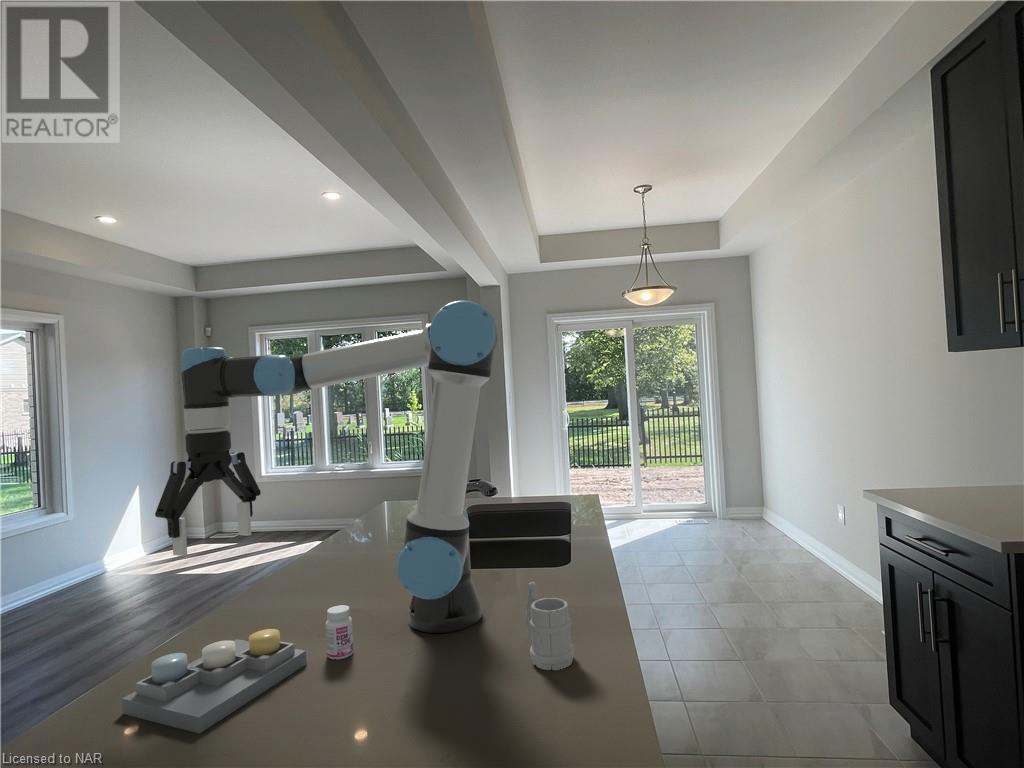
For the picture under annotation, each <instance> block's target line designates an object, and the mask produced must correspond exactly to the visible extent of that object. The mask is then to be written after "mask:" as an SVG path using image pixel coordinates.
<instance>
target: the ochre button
mask: <svg viewBox="0 0 1024 768" xmlns="http://www.w3.org/2000/svg"><path fill="white" fill-rule="evenodd" d="M280 634H281V633H280V629H276V628H265V629H262V630H258V631H256V632H253V633H252V634H250V635H249V636H248V641H249V653H250V654H252V655H264V654H269V653H271V652H274V651H276V650H277V649H279V647H280V642H281V635H280Z"/></svg>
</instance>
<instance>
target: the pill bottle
mask: <svg viewBox="0 0 1024 768" xmlns="http://www.w3.org/2000/svg"><path fill="white" fill-rule="evenodd" d="M350 609H351V608H350V606H349V605H346V604H345V605H344V604H342V605H341V604H340V605H335V606H332V607H329V608H328V609H327V611H326V614H327V615H326V618H327V620H326V622H325V637H326V638H325V640H326V641H325V642H326V656H327V658H328V659H331V660H335V659H336V660H337V661H338V660H343V659H346V658H348V657H350V656H352V655H353V653H354V635H353V633H354V631H353V619H352V617H351V616H350V615H351V611H350ZM336 660H335V661H336Z"/></svg>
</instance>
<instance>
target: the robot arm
mask: <svg viewBox="0 0 1024 768" xmlns="http://www.w3.org/2000/svg"><path fill="white" fill-rule="evenodd" d="M496 325H497V324H496V322H495V320H494V317H493V316H492V314H491V313H490V311H488V309H486V308H485V307H484V306H483V305H481V304H479V303H476V302H474V301H470V300H457V301H452V302H450V303H447V304H446V305H444V306H442V307H441V308H440V309H439V310H438V311H437V312H436V313H435V315H434V316H433V318H432V321H431V323H426V325H425V326H424V328H423V329H421V330H417V331H411V332H406V333H402V334H397V335H393V336H386V337H381V338H378V339H376V338H375V339H372V340H367V341H363V342H357V343H353V344H347V345H344V346H338V347H333V348H328V349H324V350H319V351H318V350H317V351H312V352H309V353H304V354H299V355H293V356H287V355H283V354H265V355H253V356H239V357H238V356H237V357H233V356H231V357H230V356H228V355H227V352H226V350H225V348H223V347H215V346H214V347H212V346H211V347H210V346H207V347H189V348H186V349H184V350H183V351H182V353H181V370H180V375H181V382H182V395H183V416H184V420H183V421H184V429H185V431H188V433H186V435H185V437H184V439H185V452H186V454H187V456H188V457H187V461H181V460H180V461H179V460H178V461H177V460H175V461H172V462H170V468H169V469H170V470H169V477H168V480H167V482H166V484H165V486H164V489H163V492H162V494H161V497H160V500H159V502H158V505H157V508H156V511H155V513H154V516H155V517H156V518H161V519H166V522H167V536H168V537H169V538H170V539H172V540H171V541H172V555H173V556H180V557H186V556H188V544H187V543H188V542H187V527H186V525H187V524H186V517H182V515H183V514H184V512H185V511H186V509H187V508H188V506H189V504H190V502H191V501H192V499H193V497H195V495H196V493H197V491H198V489H199V487H201V486H202V485H203V484H204V483H210V482H213V481H220V480H221V481H223V483H224V484H225V485H227V487H228V488H229V490H231V491H232V493H234V494H235V496H237V498H239V500H240V501H237V502H236V512H237V514H236V515H237V516H236V517H237V532H238V533H237V534H238V536H246V537H249V536H252V525H251V524H252V523H251V522H252V521H251V517H253V510H254V509H253V502H255V501H256V500H257V497H258V496H260V495H261V493H262V492H261V489H260V487H259V486H258V484H257V481H256V480H255V478H254V476H253V474H252V471H251V469H250V468H249V466H248V464H247V461H246V456H245V452H243V451H242V452H241V451H233V452H231V453H230V450H231V449H232V438H231V435H232V434H231V431H230V430H228V428H230V426H231V419H230V418H231V417H230V415H231V414H230V402H229V398H232V399H233V398H244V397H247V398H249V397H273V396H274V397H275V396H276V397H277V396H281V395H283V396H291V395H292V396H293V395H298V394H299V393H301V392H307V391H310V390H315V389H320V388H326V387H330V386H334V385H335V386H336V385H340V384H344V383H349V382H354V381H361V380H363V379H365V380H366V379H369V378H374V377H378V376H379V377H380V376H383V375H388V374H389V375H390V374H395V373H398V372H404V371H409V370H414V369H418V368H424V367H428V368H427V371H428V373H429V374H430V375H431V377H432V378H433V380H434V381H433V382H434V383H433V390H432V398H431V406H430V412H429V419H428V424H427V425H428V426H427V427H428V428H427V434H426V441H425V447H424V455H423V461H422V468H421V475H420V481H419V482H420V484H419V490H418V497H417V502H416V503H417V504H416V505H417V506H416V508H415V509H414V510H412V511H411V512H410V513H408V514H407V517H406V524H405V529H404V531H405V532H404V536H403V537H404V538H403V544H402V548H401V550H400V552H399V554H398V555H397V559H396V573H397V577H398V580H399V582H400V584H401V585H402V586H403V588H404V589H405V590H406V591H407V592H408V593H409V594H410V595H412V597H411V601H410V604H409V608H408V623H409V625H410V627H411V628H412V629H414V630H416V631H419V632H424V633H430V634H431V633H433V634H435V633H436V634H437V633H438V634H439V633H443V634H444V633H450V632H451V633H452V632H457V631H460V630H464V629H467V628H469V627H471V626H473V625H475V624H476V623H478V622H479V621H480V619H481V618H482V605H481V600H480V599H479V595H478V593H477V591H476V587H475V584H474V583H473V580H472V579H473V578H472V570H471V569H472V568H471V553H470V552H471V550H470V549H471V548H470V535H469V534H470V533H469V529H470V520H469V516H468V511H467V510H466V508H464V507H465V498H466V493H467V484H468V478H469V472H470V471H469V470H470V463H471V458H472V457H471V456H472V450H473V449H472V448H473V442H474V436H475V428H476V420H477V415H478V408H479V399H480V394H481V387H482V386H484V385H485V384H486V383H487V382H488V381H489V380H490V378H491V373H492V372H491V371H492V368H493V367H492V366H493V359H494V353H495V352H494V351H495V349H496V346H497V341H498V334H497V333H498V332H497V331H498V330H497V326H496ZM230 465H232V467H233V469H234V471H235V472H234V471H233V470H232V469H231V468H230ZM187 472H189V474H188V475H187V476H186V473H187ZM236 475H237V476H236ZM183 483H184V485H183Z"/></svg>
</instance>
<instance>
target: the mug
mask: <svg viewBox="0 0 1024 768" xmlns="http://www.w3.org/2000/svg"><path fill="white" fill-rule="evenodd" d="M525 609H526V612H525V623H526V631H527V634H528V635H529V639H530V642H531V646H530V648H529V654H530V655H529V656H530V657H531V662H532V664H533V666H536V668H538V669H539V670H542V671H543V670H544V671H551V670H552V671H553V670H554V671H560V669H561V670H564V669H566V667H567V668H569V667H570V666H571V665H572V663H573V660H574V658H573V657H574V656H575V648H574V645H573V644H572V636H571V635H572V634H571V627H572V624H573V623H572V619H571V618H570V615H569V614H570V613H569V604H568V602H567V601H566V600H564V599H562V598H557V597H551V598H550V597H544V598H540V597H539V594H538V589H537V585H536V583H535V582H534V581H532V582H528V594H527V601H526V608H525ZM563 668H564V669H563Z"/></svg>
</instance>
